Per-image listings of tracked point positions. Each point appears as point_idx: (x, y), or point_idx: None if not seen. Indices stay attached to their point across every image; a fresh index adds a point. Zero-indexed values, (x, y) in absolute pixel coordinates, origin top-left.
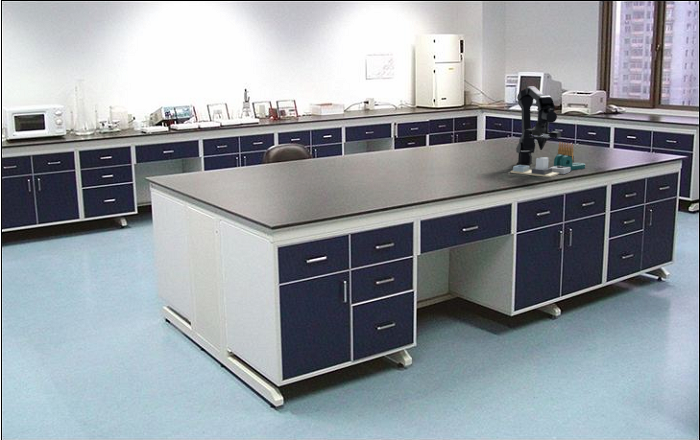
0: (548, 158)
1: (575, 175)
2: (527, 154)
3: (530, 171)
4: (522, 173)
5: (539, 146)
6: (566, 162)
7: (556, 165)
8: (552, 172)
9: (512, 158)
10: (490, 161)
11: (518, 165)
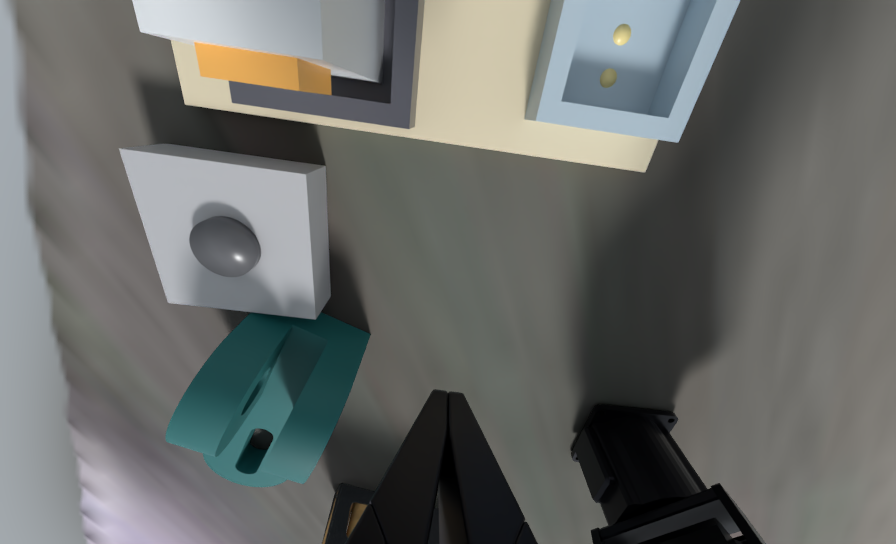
0: (154, 29)
1: (41, 128)
2: (635, 492)
3: (491, 17)
4: None
5: (478, 443)
6: None
7: (329, 344)
8: None
9: None
10: (870, 419)
11: (688, 79)
